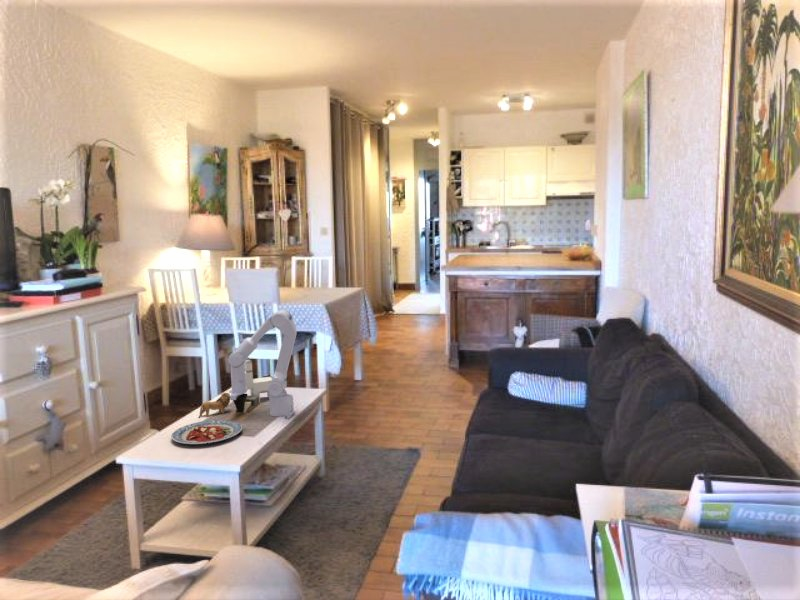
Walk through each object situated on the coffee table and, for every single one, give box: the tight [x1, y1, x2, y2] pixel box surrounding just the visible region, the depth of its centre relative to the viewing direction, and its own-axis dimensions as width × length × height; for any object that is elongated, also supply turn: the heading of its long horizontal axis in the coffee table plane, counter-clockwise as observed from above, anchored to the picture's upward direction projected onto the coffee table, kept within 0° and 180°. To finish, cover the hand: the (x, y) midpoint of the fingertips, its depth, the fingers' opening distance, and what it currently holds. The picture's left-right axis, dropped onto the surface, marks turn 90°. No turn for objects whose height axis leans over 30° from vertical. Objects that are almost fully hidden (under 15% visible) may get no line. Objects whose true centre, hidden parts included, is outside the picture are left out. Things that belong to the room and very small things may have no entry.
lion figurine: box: [197, 392, 231, 419], centre depth 258 cm, size 15×5×9 cm, turn 131°
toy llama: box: [244, 357, 273, 404], centre depth 276 cm, size 8×18×20 cm, turn 115°
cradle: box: [223, 395, 263, 422], centre depth 261 cm, size 9×22×4 cm, turn 174°
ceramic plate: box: [170, 419, 243, 445], centre depth 235 cm, size 26×26×3 cm
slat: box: [238, 401, 253, 414], centre depth 264 cm, size 3×12×2 cm, turn 174°
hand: (240, 412), depth 257 cm, fingers closed
